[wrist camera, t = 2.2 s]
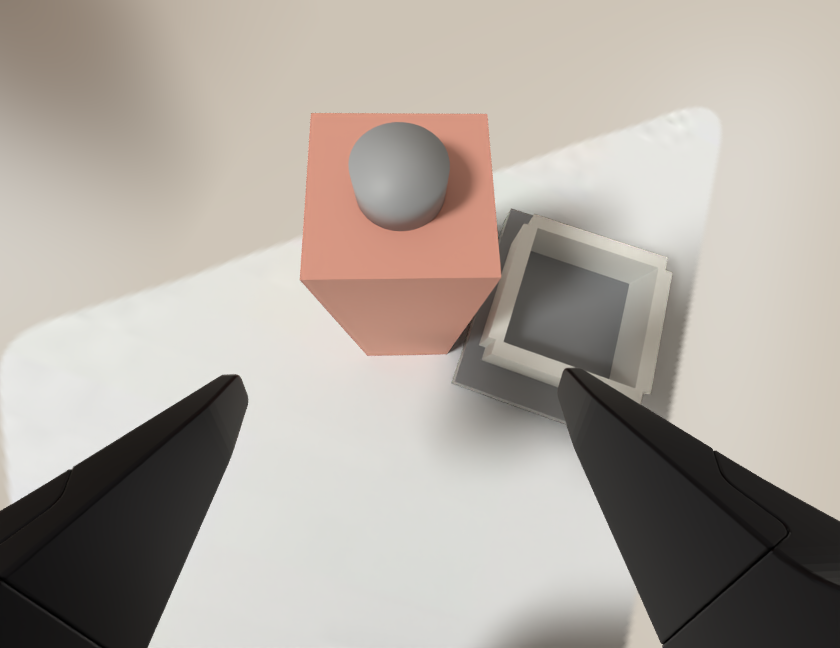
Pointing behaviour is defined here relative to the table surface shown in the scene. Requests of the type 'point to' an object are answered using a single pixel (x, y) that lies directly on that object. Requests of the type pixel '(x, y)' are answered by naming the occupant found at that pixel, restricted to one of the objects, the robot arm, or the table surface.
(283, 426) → the table surface
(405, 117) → the pink square bar
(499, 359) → the grey socket base
